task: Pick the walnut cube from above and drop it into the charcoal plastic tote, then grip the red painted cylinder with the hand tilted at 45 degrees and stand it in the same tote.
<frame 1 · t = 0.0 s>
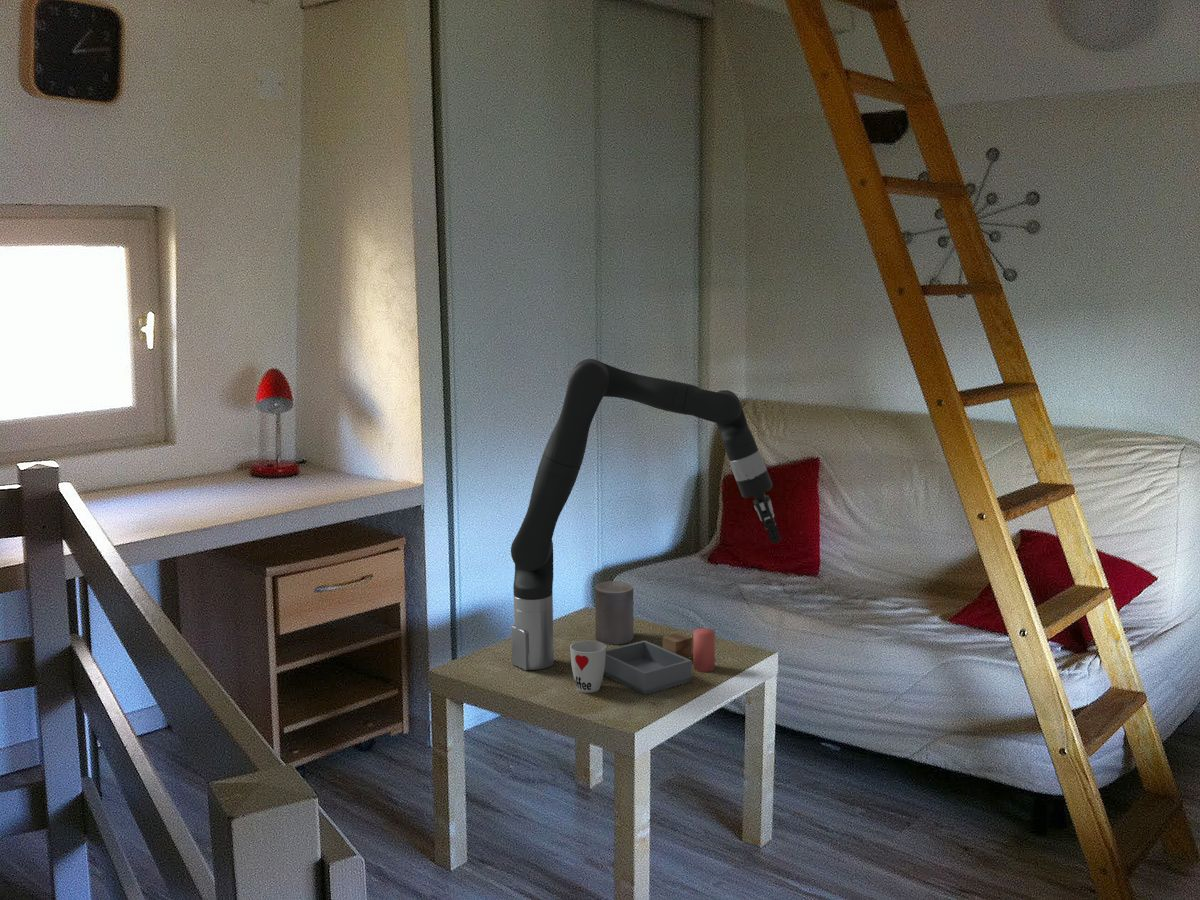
hand: (775, 537, 285), 31 cm above the table, tool tilted 20°, fingers open, 8 cm apart
walnut cube: (677, 657, 298), on the table
cup: (588, 689, 279), on the table
pillar candle: (614, 639, 312), on the table
tote: (644, 676, 285), on the table
red cylinder: (704, 668, 290), on the table
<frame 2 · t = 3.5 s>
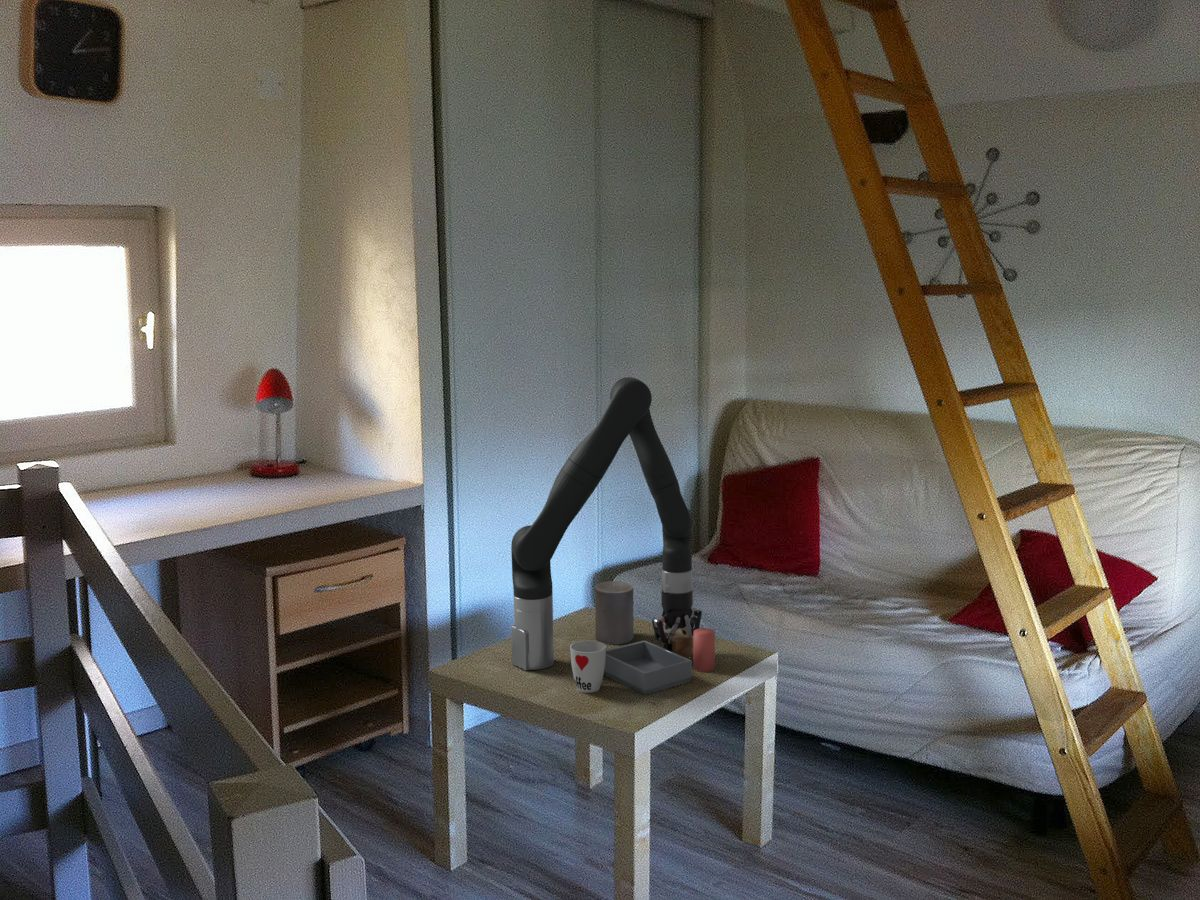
hand: (677, 654, 298), 0 cm above the table, tool pointing down, fingers closed on walnut cube, 5 cm apart
walnut cube: (677, 656, 298), on the table, touching gripper
everything else where it was.
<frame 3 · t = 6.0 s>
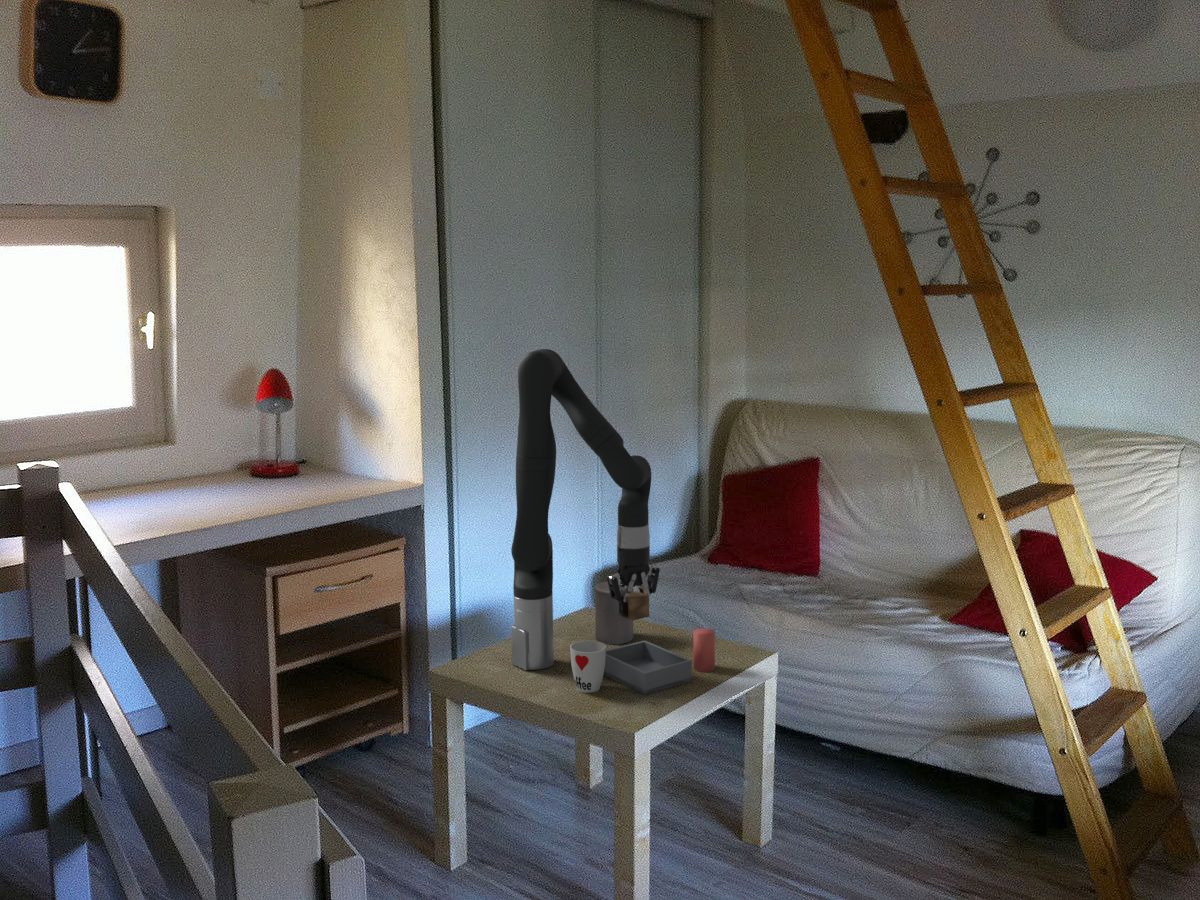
hand: (633, 613, 286), 14 cm above the table, tool pointing down, fingers closed on walnut cube, 5 cm apart
walnut cube: (634, 616, 286), point 14 cm above the table, touching gripper
everything else where it was.
when the fingers open (3 cm above the table, at t = 8.5 s): walnut cube drops 1 cm, resting on tote.
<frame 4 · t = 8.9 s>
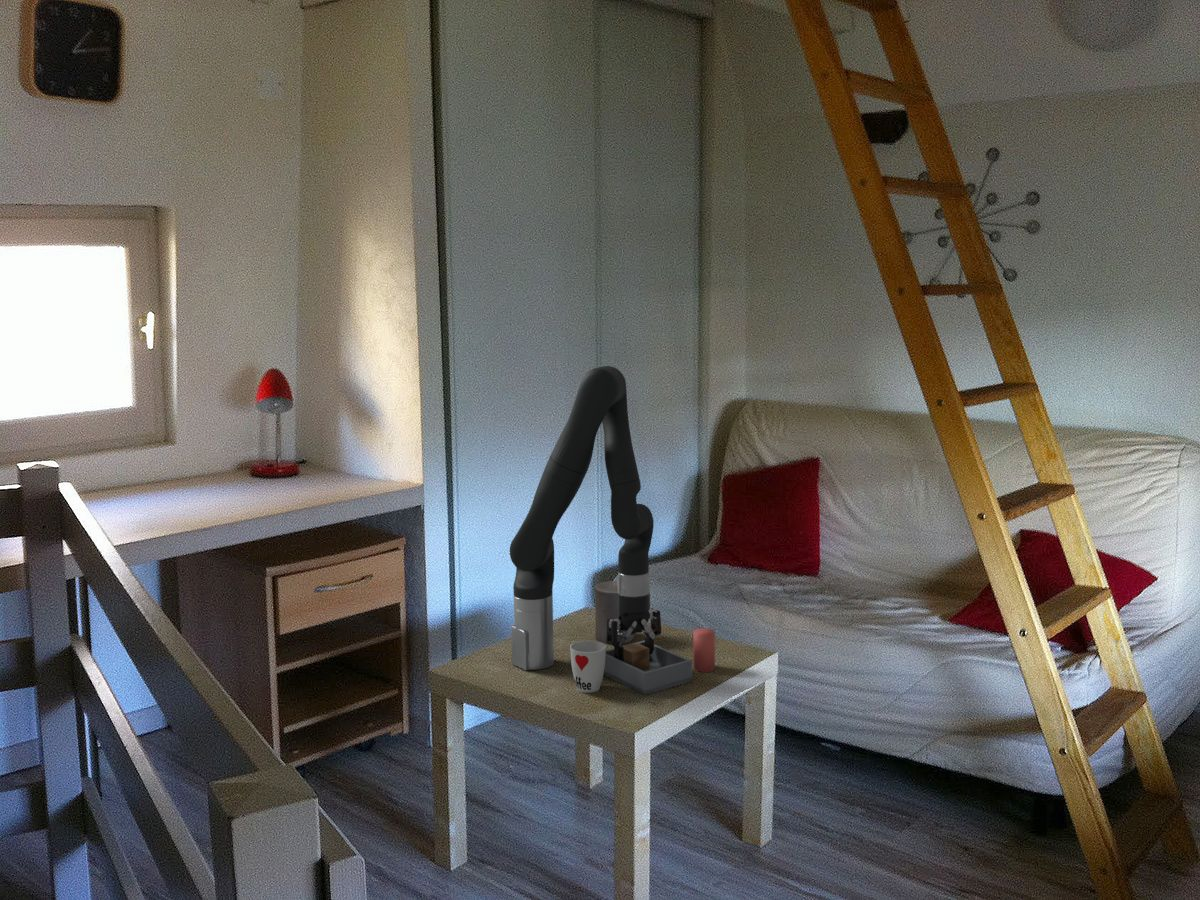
hand: (634, 657, 288), 4 cm above the table, tool pointing down, fingers open, 8 cm apart
walnut cube: (634, 668, 288), point 1 cm above the table, touching tote
everything else where it was.
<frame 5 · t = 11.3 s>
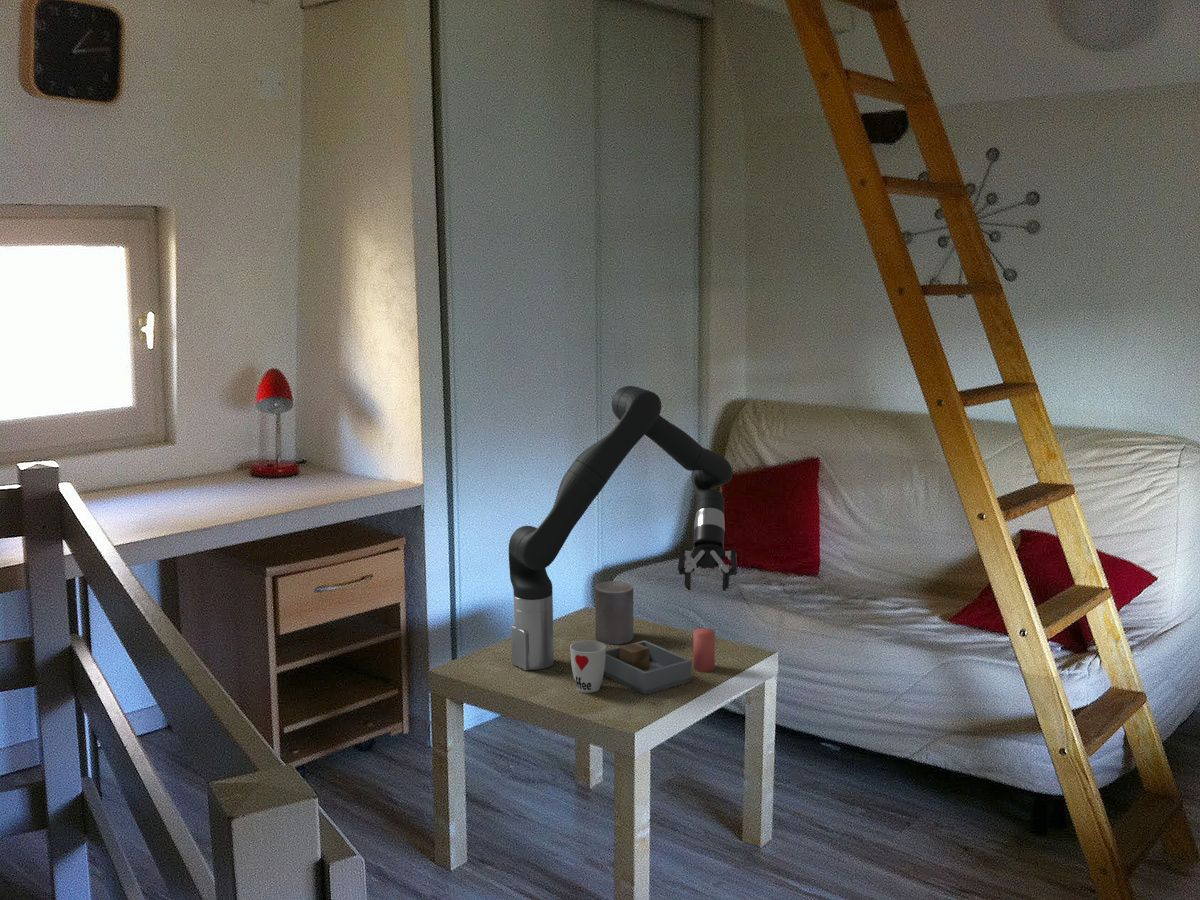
hand: (706, 589, 297), 16 cm above the table, tool tilted 45°, fingers open, 8 cm apart
nothing on the table moved.
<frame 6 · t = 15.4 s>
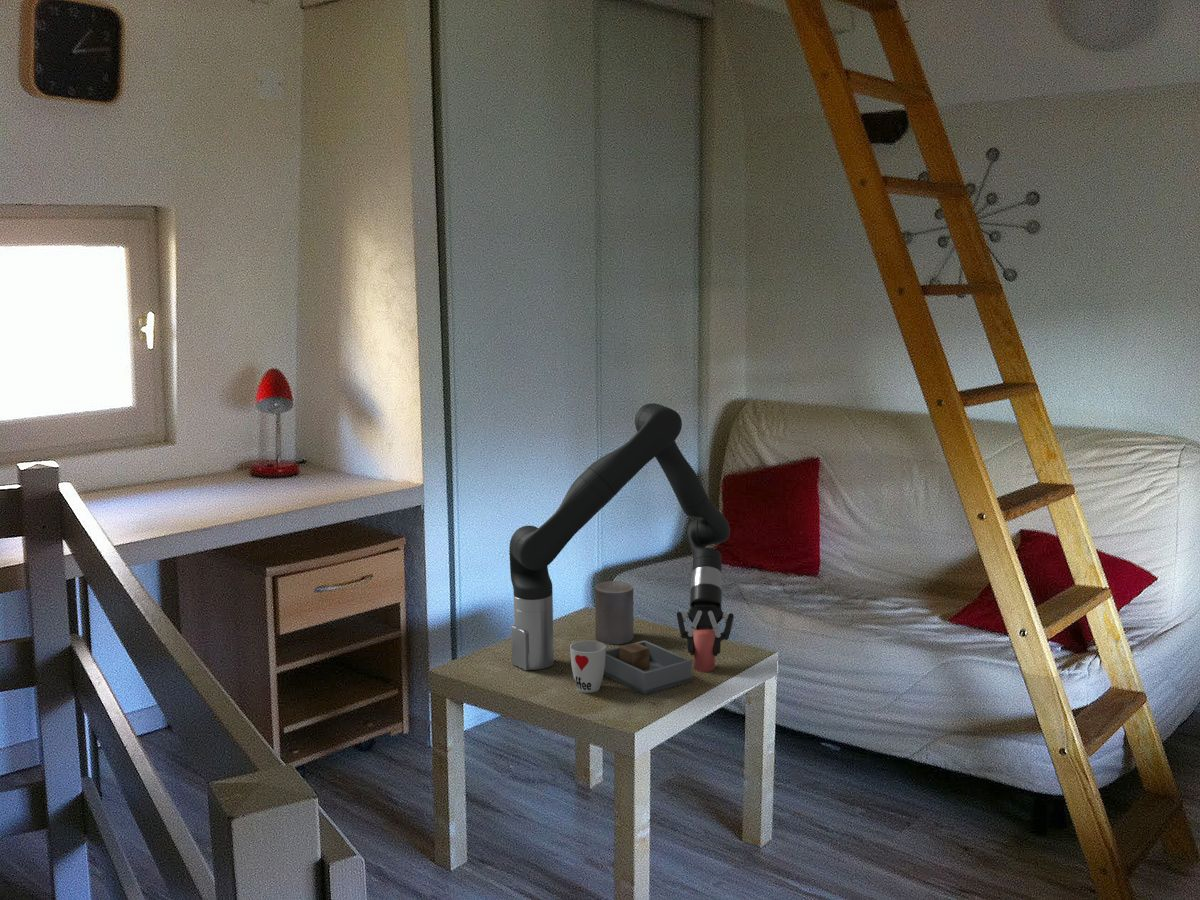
hand: (703, 653, 288), 4 cm above the table, tool tilted 45°, fingers closed on red cylinder, 5 cm apart
red cylinder: (704, 668, 290), on the table, touching gripper
everything else where it was.
when the fingers open (7 cm above the table, at t = 20.1 s): red cylinder drops 1 cm, resting on tote.
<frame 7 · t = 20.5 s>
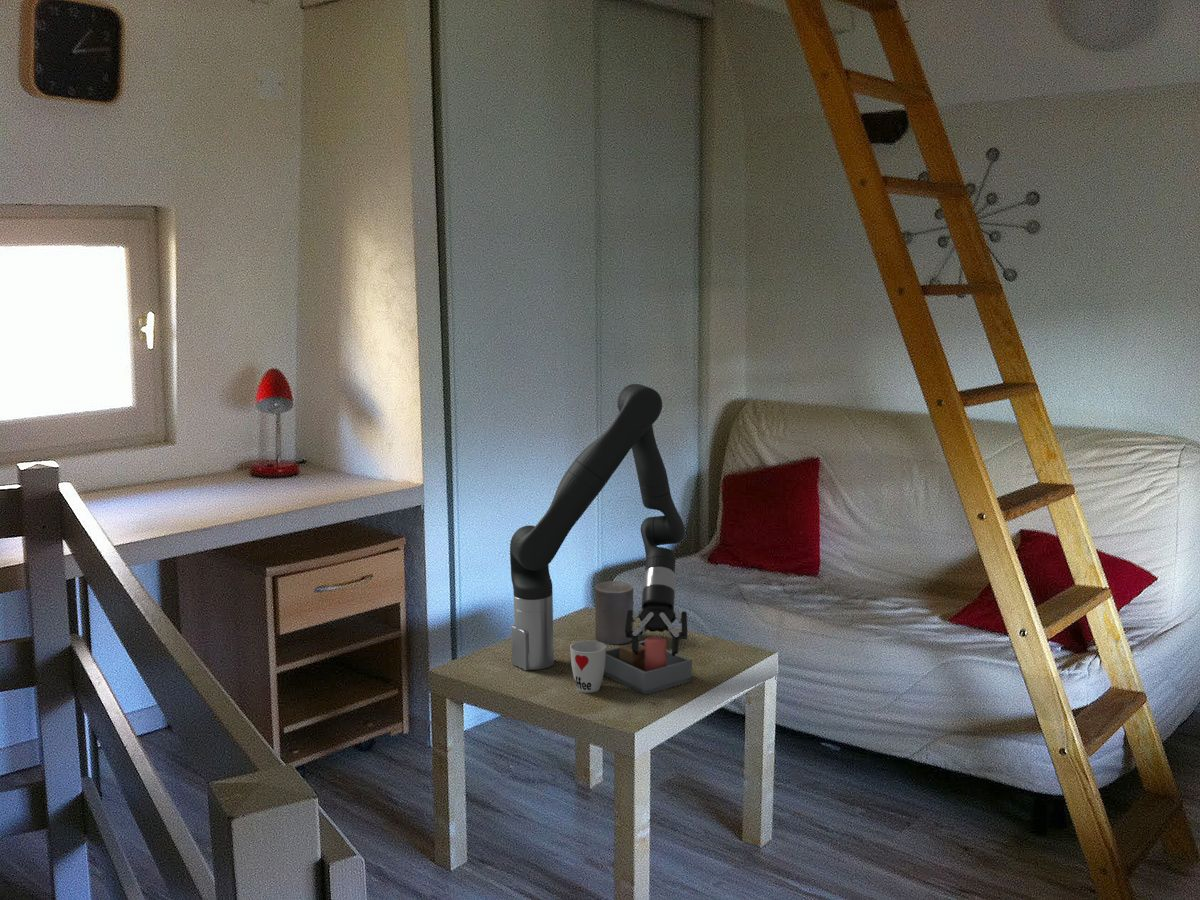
hand: (654, 654, 280), 7 cm above the table, tool tilted 45°, fingers open, 8 cm apart
red cylinder: (655, 677, 282), point 1 cm above the table, touching tote
everything else where it was.
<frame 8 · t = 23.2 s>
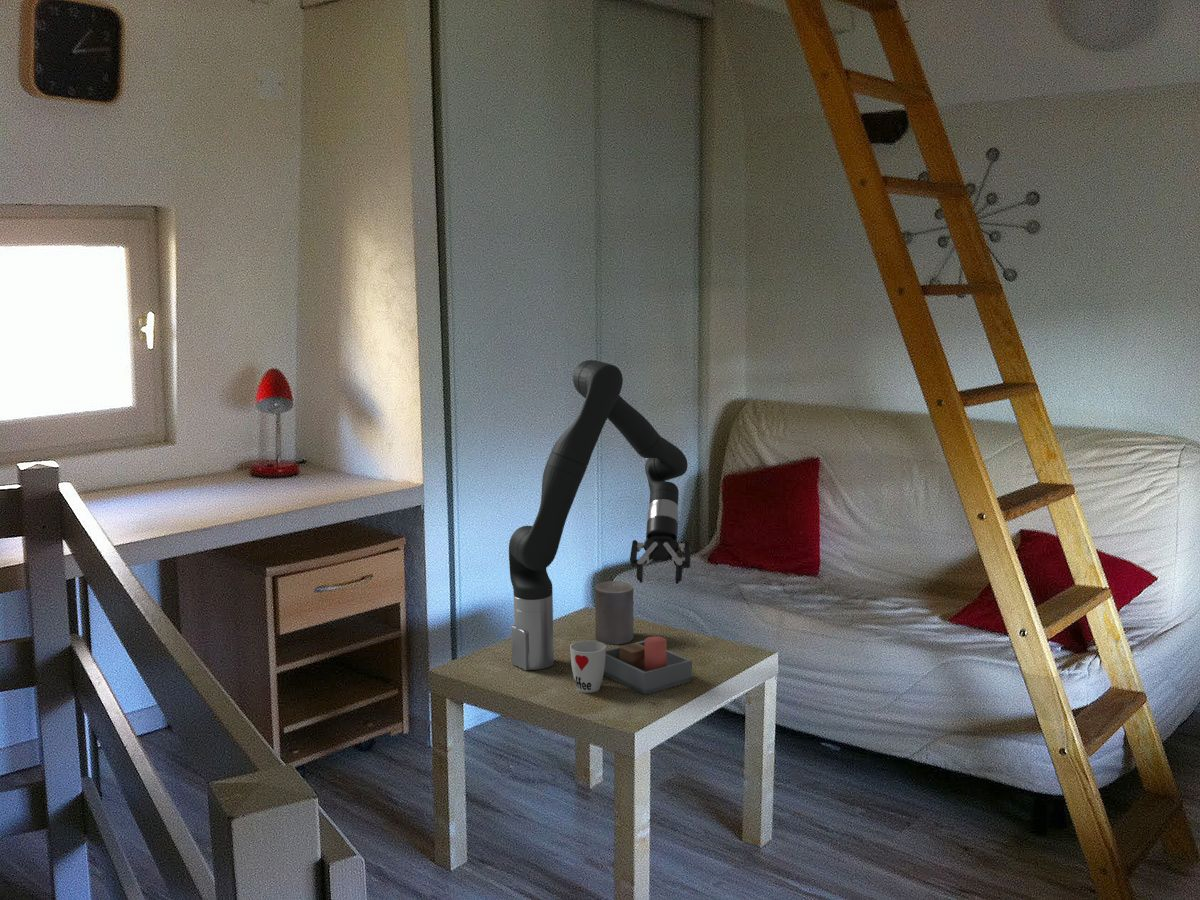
hand: (658, 581, 289), 21 cm above the table, tool tilted 45°, fingers open, 8 cm apart
nothing on the table moved.
at the end: walnut cube inside the target area on the tote (3.9 cm from its centre), point 1.0 cm above the tote's base; red cylinder inside the target area on the tote (4.0 cm from its centre), point 1.0 cm above the tote's base; red cylinder tilted 0° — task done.
